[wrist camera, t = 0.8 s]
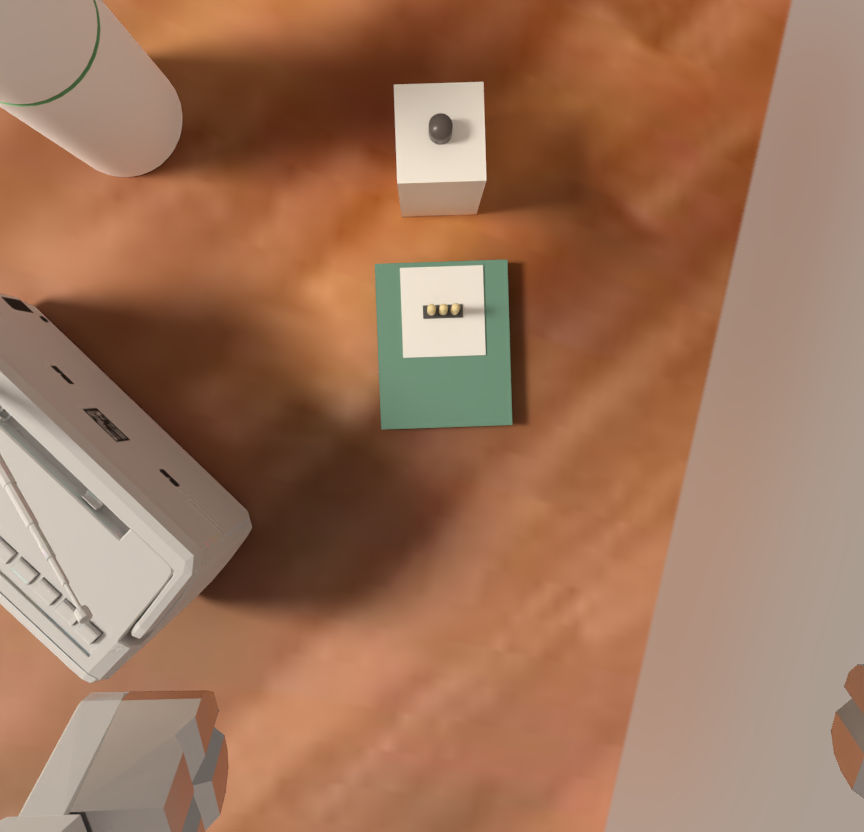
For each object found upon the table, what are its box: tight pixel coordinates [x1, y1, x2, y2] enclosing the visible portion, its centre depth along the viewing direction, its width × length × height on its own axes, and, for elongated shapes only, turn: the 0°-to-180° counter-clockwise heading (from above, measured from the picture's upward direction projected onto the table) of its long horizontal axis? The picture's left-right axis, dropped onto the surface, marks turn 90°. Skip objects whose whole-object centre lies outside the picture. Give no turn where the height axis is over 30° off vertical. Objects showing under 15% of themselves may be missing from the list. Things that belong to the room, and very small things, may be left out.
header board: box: [375, 260, 512, 430], centre depth 41 cm, size 10×8×3 cm
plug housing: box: [394, 82, 487, 217], centre depth 39 cm, size 5×5×8 cm
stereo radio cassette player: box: [0, 293, 252, 683], centre depth 33 cm, size 21×8×20 cm, turn 46°
